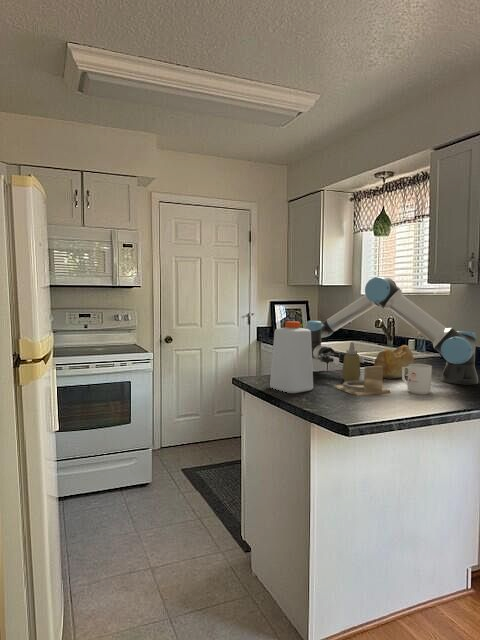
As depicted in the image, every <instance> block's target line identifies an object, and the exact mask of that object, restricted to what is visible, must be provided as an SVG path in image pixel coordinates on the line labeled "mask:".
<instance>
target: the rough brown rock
mask: <svg viewBox="0 0 480 640" xmlns="http://www.w3.org/2000/svg"><path fill="white" fill-rule="evenodd" d="M409 364H415V358H414V354H413V352H412V350H411V349H410V347H409V345H407V344H402V345H401V346H399V347H396V349H395V350H391V349H385V350H381V351H379V352H378V354H377V356H376V357H375V359H374V363H373V366H383V379H385V380H390V379H399V378H402V367H408V365H409ZM405 376H408V368H405Z"/></svg>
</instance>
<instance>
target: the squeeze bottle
mask: <svg viewBox="0 0 480 640" xmlns="http://www.w3.org/2000/svg"><path fill="white" fill-rule="evenodd" d="M346 353H347V354H346V355H345V356H344V359H343V364H342V371H341V374H342V379H343V381H344V382H346V381H355V380H356V381H360V377H361V362H360V360H359V356H360V355H359V356H358V355H356V354H358V350H357V349H356V348H355V342H354V341H351V342H350V344H349V348H348V349H347V350H346Z"/></svg>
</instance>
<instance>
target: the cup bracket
mask: <svg viewBox="0 0 480 640" xmlns="http://www.w3.org/2000/svg"><path fill="white" fill-rule="evenodd" d="M363 376H364V377H363V380H358V381H356V380H355V381H346V382H345V381H344V382H343V383H342V384H333V388H334V389H337V390H340V391H343V392H346V393H348V394H352V395H354V396H357V397H360V396H361V397H362V396H370V395H379V394H382V395H383V394H390V393H391V390H390V389H388V388H387V389H386V388H384V387H383V381H384V380H383V379H384V378H383V366H374V365H372V366H364V373H363Z"/></svg>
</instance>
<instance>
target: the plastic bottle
mask: <svg viewBox="0 0 480 640" xmlns="http://www.w3.org/2000/svg"><path fill="white" fill-rule="evenodd" d="M284 324H285V326H284V327H278V328H275V329H274V333H273V346H272V355H271V366H270V367H271V369H270V378H269V386H270V388H271V389H272V388H273V389H272V390H275V389H276V390H275V391H278V390H279V391H278V392H282V391H283V392H282V393H285V392H287V393H286V394H299V393H305V392H309V391H312V390H313V388H314V373H313V371H314V370H313V359H312V346H311V331H310V330H309V329H306V328H303V327H301V322H300V321H296V320H295V321H294V320H292V321H291V320H288V321H287V320H286V321H285V323H284Z"/></svg>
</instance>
